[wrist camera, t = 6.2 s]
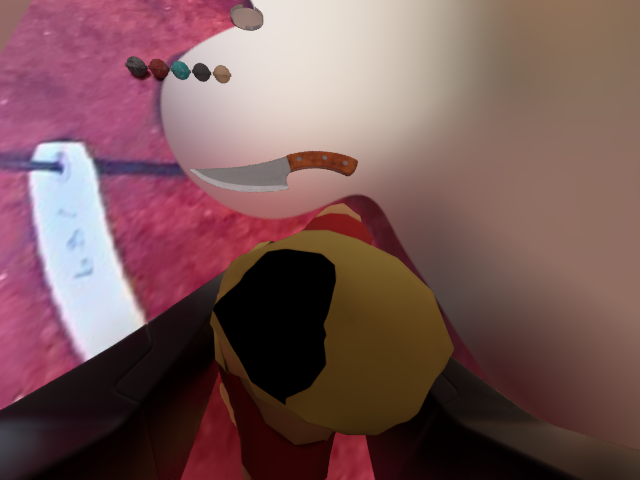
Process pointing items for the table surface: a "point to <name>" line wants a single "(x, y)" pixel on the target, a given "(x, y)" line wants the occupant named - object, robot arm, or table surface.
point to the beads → (177, 70)
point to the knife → (275, 171)
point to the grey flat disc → (246, 18)
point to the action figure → (322, 345)
